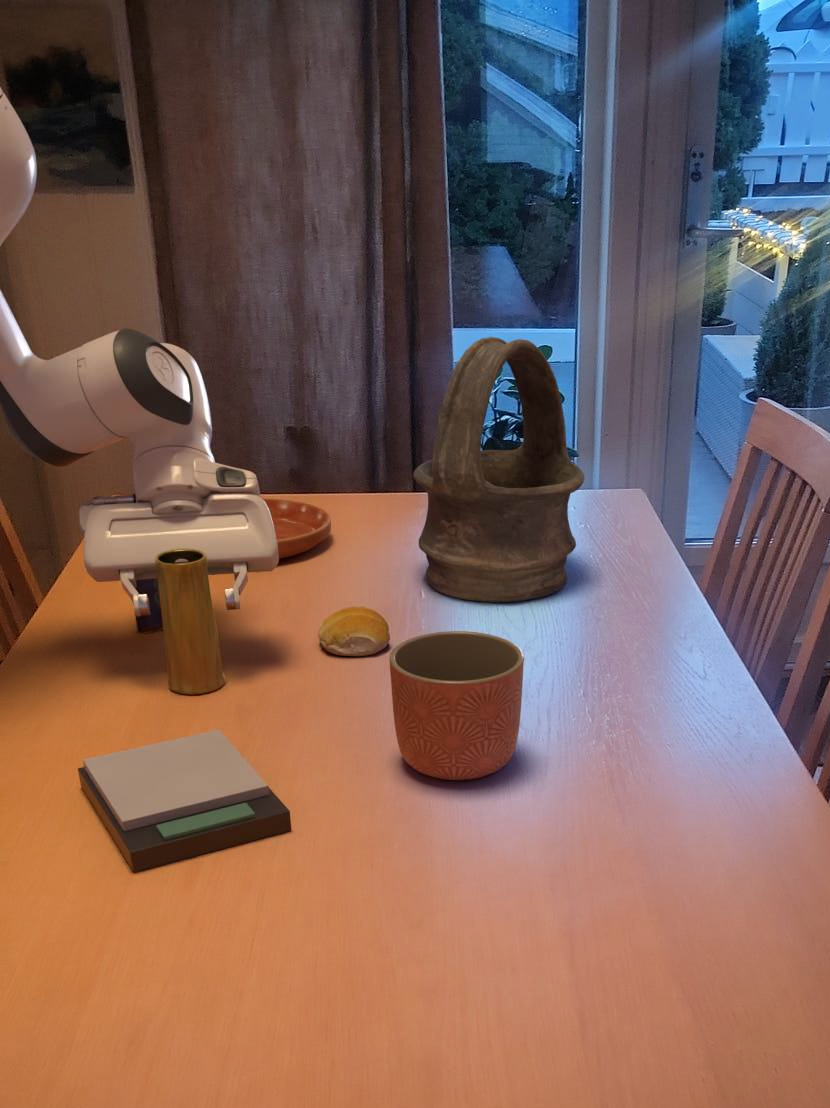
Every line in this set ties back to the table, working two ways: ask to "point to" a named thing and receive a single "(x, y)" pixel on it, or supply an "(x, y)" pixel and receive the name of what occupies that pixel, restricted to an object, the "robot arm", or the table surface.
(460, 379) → the clay pot
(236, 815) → the scale
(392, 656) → the planter
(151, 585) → the flask
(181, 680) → the vase
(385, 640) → the bread roll
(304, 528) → the saucer
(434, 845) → the table surface
